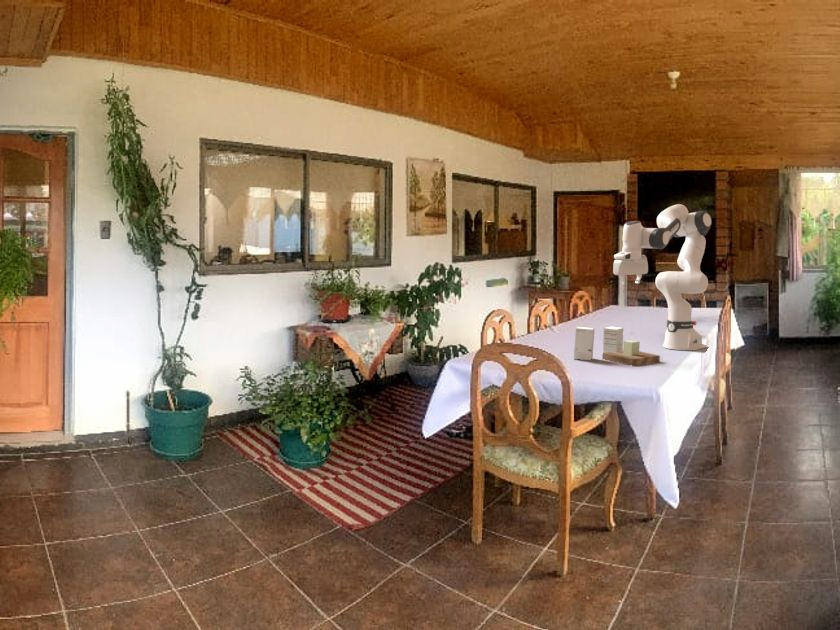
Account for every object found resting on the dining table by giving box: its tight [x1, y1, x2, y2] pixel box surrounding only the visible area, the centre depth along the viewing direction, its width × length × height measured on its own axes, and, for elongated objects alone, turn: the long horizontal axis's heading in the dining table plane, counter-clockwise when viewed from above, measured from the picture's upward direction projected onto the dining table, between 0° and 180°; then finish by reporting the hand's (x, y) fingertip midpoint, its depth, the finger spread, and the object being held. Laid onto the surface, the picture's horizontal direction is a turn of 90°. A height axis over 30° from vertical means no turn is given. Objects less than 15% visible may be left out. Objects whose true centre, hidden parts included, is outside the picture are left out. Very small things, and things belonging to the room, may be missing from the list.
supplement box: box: [602, 325, 624, 354], centre depth 346 cm, size 7×7×13 cm
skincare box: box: [573, 326, 596, 361], centre depth 331 cm, size 8×6×15 cm
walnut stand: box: [602, 350, 661, 367], centre depth 328 cm, size 18×18×3 cm
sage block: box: [623, 339, 641, 356], centre depth 327 cm, size 5×5×6 cm
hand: (630, 284), depth 341 cm, fingers open, 8 cm apart
